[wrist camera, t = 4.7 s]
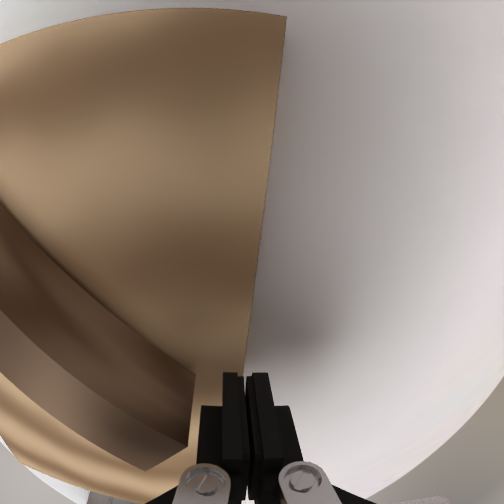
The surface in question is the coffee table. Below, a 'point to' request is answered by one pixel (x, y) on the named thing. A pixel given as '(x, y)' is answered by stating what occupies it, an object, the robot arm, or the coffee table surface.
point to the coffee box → (106, 499)
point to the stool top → (142, 198)
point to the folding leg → (87, 359)
